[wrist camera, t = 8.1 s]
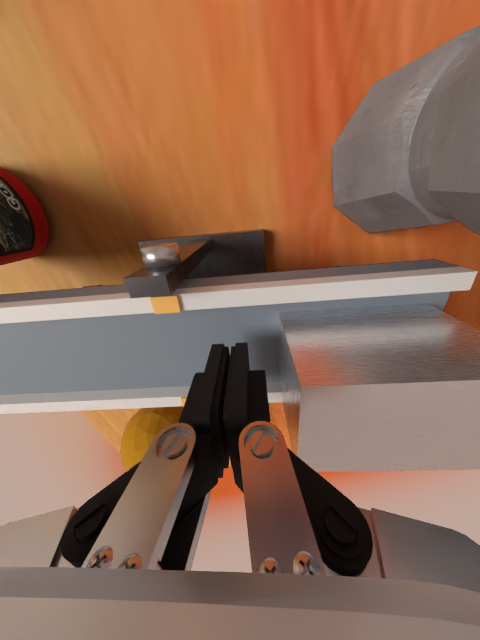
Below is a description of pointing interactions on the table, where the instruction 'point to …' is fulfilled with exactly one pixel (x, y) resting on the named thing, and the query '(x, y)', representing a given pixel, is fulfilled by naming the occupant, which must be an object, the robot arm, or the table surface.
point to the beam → (180, 331)
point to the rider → (381, 388)
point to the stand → (195, 260)
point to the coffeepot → (415, 144)
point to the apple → (145, 432)
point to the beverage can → (20, 221)
